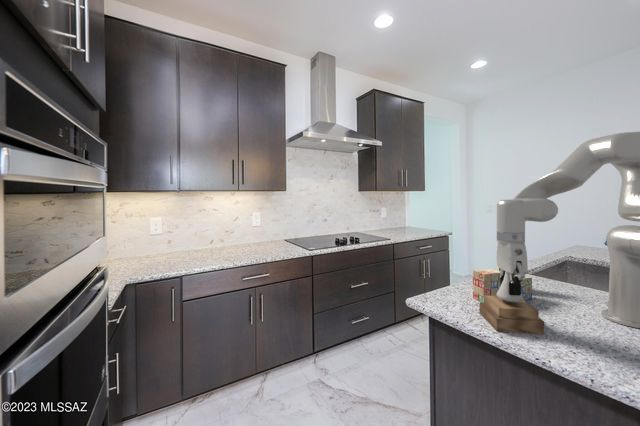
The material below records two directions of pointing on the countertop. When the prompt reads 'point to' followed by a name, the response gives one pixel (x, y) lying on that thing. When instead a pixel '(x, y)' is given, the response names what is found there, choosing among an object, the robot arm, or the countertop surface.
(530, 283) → the stack of blocks
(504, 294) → the flask
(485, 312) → the stepped wooden pedestal
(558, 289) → the countertop surface
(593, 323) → the countertop surface
